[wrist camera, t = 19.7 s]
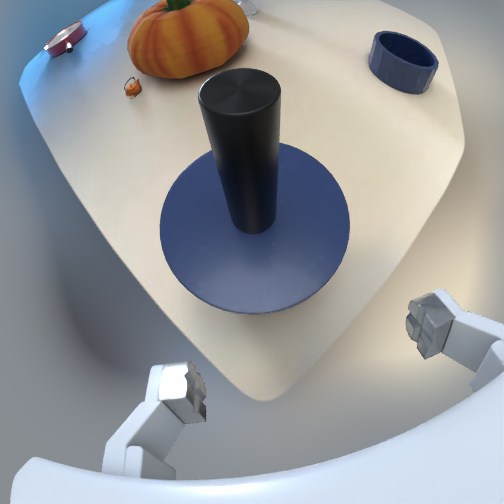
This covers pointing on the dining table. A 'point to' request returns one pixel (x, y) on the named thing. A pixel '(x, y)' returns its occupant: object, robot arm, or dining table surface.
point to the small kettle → (133, 89)
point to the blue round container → (402, 62)
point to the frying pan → (66, 39)
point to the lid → (252, 206)
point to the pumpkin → (186, 37)
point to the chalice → (247, 7)
